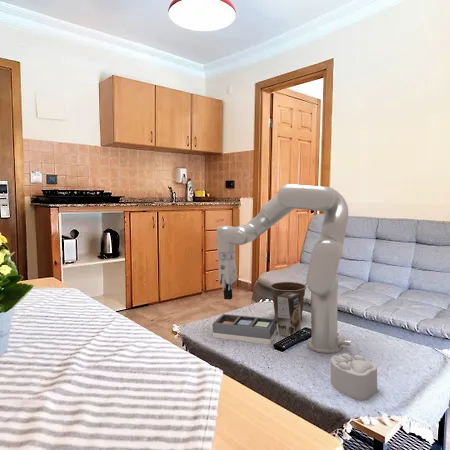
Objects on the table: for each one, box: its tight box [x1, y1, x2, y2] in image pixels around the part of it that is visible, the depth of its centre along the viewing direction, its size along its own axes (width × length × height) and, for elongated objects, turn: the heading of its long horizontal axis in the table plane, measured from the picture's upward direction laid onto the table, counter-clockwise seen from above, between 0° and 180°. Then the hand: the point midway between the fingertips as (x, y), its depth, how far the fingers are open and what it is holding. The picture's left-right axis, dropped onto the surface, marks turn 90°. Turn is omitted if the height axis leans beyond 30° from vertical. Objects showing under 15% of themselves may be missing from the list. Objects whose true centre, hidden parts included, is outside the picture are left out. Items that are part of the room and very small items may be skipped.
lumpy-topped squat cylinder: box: [330, 353, 378, 401], centre depth 104 cm, size 10×13×9 cm
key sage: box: [255, 322, 270, 328], centre depth 143 cm, size 5×5×2 cm
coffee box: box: [277, 292, 302, 337], centre depth 147 cm, size 9×6×16 cm
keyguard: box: [212, 313, 278, 339], centre depth 146 cm, size 24×12×4 cm, turn 69°
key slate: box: [237, 320, 252, 326], centre depth 145 cm, size 5×5×2 cm
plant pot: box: [269, 281, 307, 323], centre depth 161 cm, size 16×16×16 cm
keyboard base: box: [212, 328, 278, 345], centre depth 146 cm, size 24×12×2 cm, turn 69°
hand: (228, 298), depth 147 cm, fingers closed
